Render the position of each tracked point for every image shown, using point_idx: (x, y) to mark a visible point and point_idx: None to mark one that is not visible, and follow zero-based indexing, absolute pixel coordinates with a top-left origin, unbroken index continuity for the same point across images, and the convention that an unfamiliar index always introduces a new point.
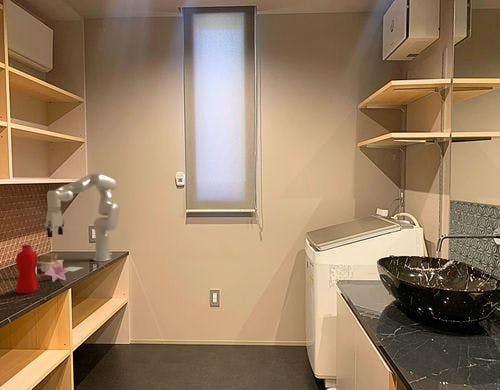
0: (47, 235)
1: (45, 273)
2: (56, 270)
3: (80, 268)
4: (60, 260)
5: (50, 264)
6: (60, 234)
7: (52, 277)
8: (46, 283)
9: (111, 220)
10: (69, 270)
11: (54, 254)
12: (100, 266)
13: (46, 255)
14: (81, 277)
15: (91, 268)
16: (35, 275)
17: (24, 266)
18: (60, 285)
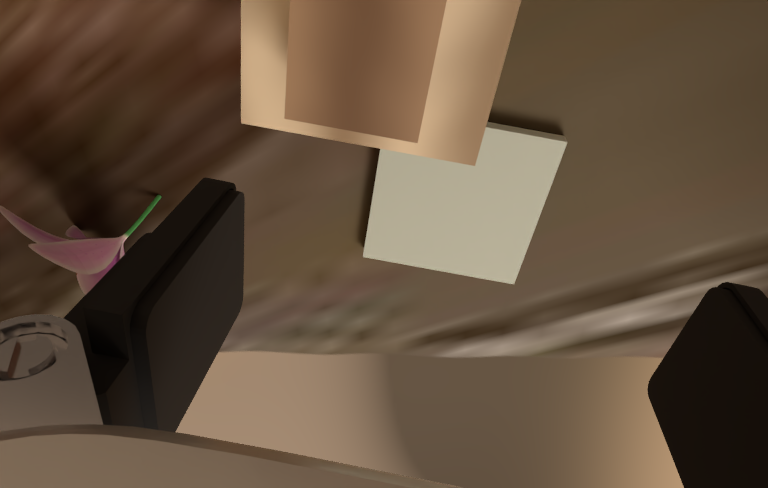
0: (184, 198)
1: (2, 209)
2: (101, 260)
3: (476, 268)
4: (437, 142)
5: (243, 115)
6: (672, 352)
7: (67, 232)
8: (15, 208)
9: None
10: (390, 212)
11: (363, 132)
12: (612, 352)
13: (290, 32)
14: (238, 347)
15: (536, 316)
16: None
17: None
18: (22, 311)
